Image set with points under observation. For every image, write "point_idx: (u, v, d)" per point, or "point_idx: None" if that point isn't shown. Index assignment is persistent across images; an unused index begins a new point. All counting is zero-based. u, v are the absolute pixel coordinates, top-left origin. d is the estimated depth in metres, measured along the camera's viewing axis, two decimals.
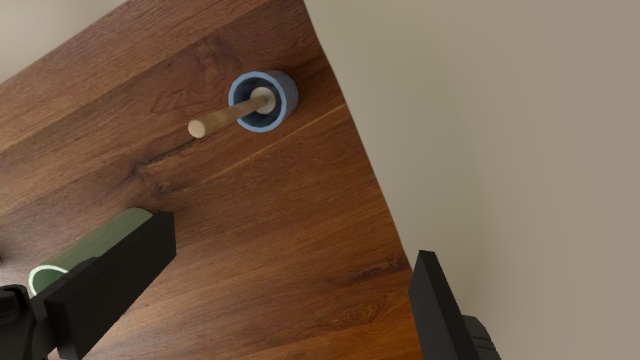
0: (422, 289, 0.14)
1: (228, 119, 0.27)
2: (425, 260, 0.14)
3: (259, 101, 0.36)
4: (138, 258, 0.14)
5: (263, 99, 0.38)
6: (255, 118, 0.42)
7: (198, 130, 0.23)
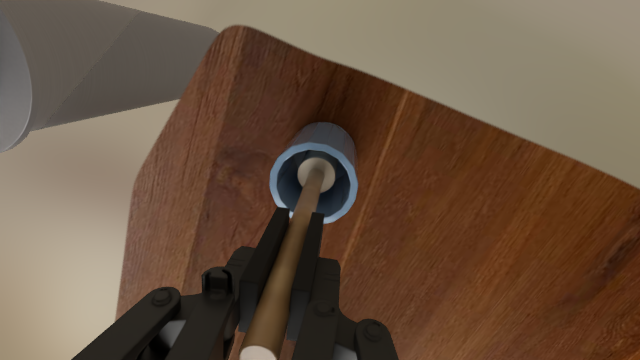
0: None
1: (295, 268, 0.14)
2: (312, 219, 0.17)
3: (314, 183, 0.24)
4: (277, 248, 0.15)
5: (316, 175, 0.25)
6: (325, 199, 0.29)
7: (262, 359, 0.10)
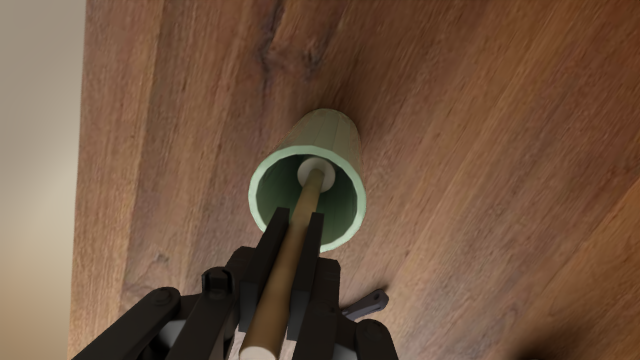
0: None
1: (295, 268, 0.14)
2: (312, 219, 0.17)
3: (314, 183, 0.24)
4: (277, 248, 0.15)
5: (316, 175, 0.25)
6: None
7: None
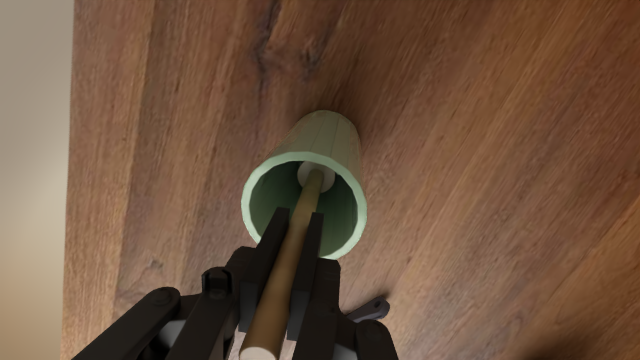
0: None
1: (295, 269, 0.14)
2: (312, 219, 0.17)
3: (314, 183, 0.24)
4: (277, 248, 0.15)
5: (316, 175, 0.25)
6: None
7: None
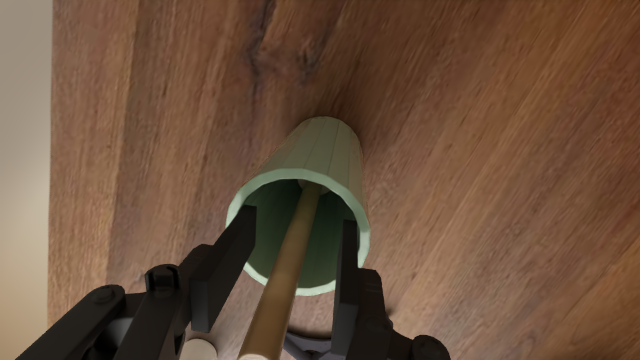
0: (340, 251, 0.16)
1: (294, 273, 0.14)
2: (345, 227, 0.17)
3: (314, 185, 0.23)
4: (239, 246, 0.15)
5: None
6: None
7: None
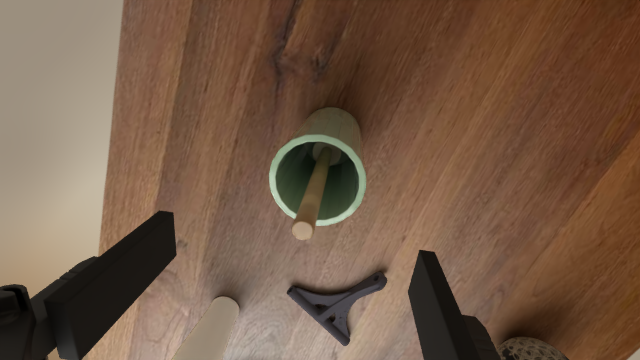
0: (422, 289, 0.14)
1: (318, 196, 0.23)
2: (425, 260, 0.14)
3: (326, 155, 0.32)
4: (138, 258, 0.14)
5: (327, 150, 0.34)
6: None
7: (305, 231, 0.19)
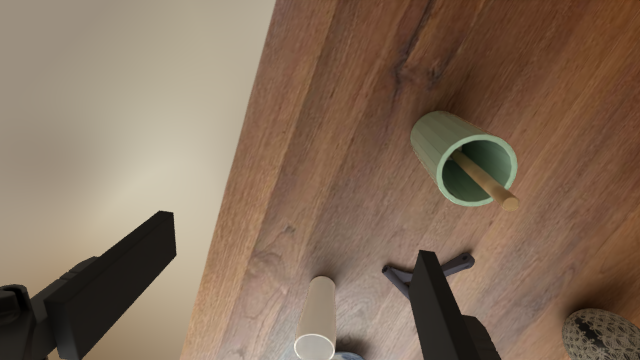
0: (422, 289, 0.14)
1: (496, 181, 0.30)
2: (425, 260, 0.14)
3: (459, 151, 0.39)
4: (138, 258, 0.14)
5: None
6: None
7: (513, 204, 0.26)
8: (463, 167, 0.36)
